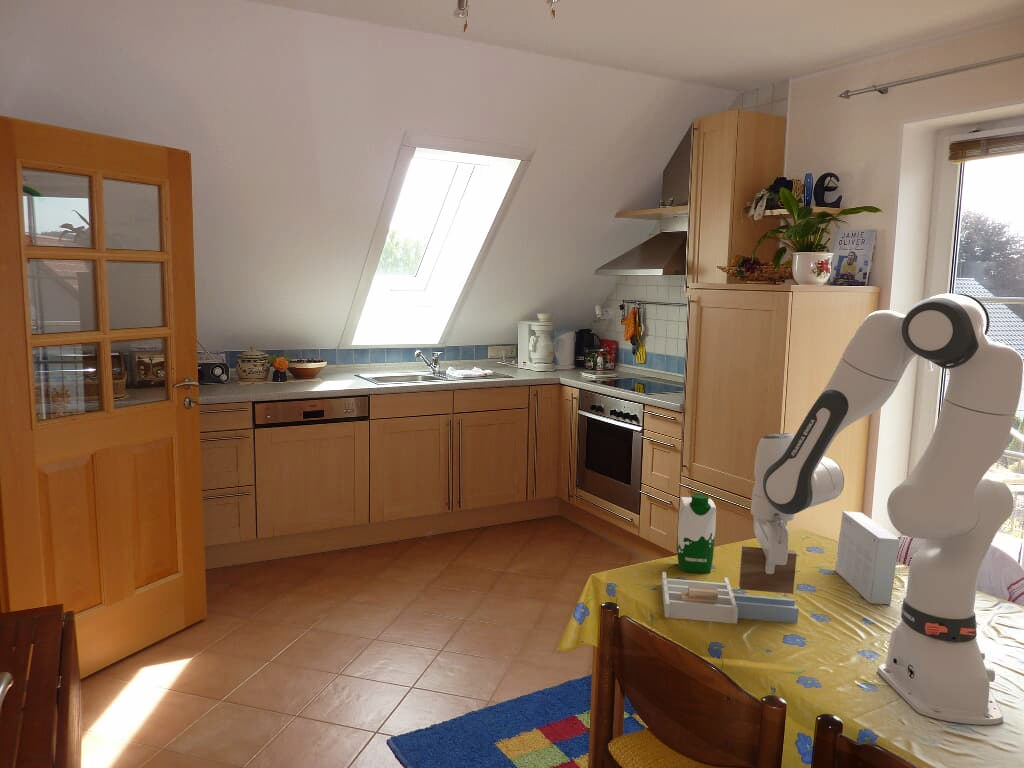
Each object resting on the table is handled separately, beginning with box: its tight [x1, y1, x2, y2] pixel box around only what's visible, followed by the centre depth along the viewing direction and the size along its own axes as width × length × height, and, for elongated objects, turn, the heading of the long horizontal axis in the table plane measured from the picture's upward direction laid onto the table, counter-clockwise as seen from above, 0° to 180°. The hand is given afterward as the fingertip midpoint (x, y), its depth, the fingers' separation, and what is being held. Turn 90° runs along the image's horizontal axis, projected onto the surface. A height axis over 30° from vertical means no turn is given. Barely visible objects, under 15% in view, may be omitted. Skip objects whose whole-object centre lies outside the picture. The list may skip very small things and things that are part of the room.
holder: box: [733, 593, 800, 624], centre depth 170 cm, size 6×13×4 cm, turn 81°
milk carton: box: [676, 493, 717, 574], centre depth 195 cm, size 9×9×20 cm
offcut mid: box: [681, 592, 715, 604], centre depth 169 cm, size 3×7×2 cm, turn 81°
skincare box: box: [834, 510, 900, 605], centre depth 188 cm, size 21×6×16 cm, turn 179°
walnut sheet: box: [738, 545, 798, 595], centre depth 168 cm, size 2×11×9 cm, turn 81°
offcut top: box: [688, 585, 718, 601], centre depth 169 cm, size 3×6×2 cm, turn 81°
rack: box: [661, 571, 739, 624], centre depth 175 cm, size 18×15×4 cm
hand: (767, 569), depth 168 cm, fingers closed on walnut sheet, 2 cm apart
